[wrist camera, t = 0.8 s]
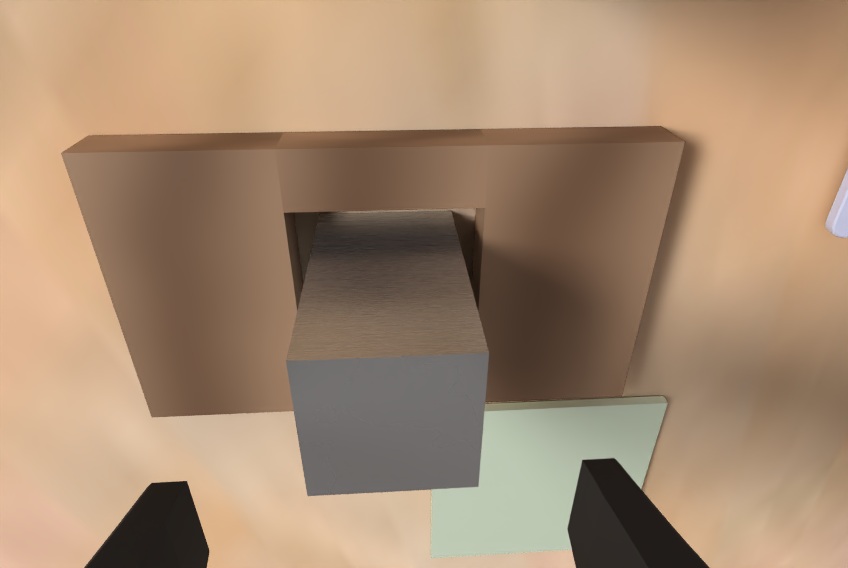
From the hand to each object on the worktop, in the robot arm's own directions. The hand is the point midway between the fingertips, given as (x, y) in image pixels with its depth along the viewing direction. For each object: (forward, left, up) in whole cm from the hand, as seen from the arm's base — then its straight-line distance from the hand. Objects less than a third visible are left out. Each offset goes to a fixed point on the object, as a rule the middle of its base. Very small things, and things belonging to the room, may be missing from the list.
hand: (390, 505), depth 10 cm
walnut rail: (0, 0, -9) cm, 9 cm away
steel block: (0, 0, -9) cm, 9 cm away
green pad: (-6, +10, -9) cm, 15 cm away
